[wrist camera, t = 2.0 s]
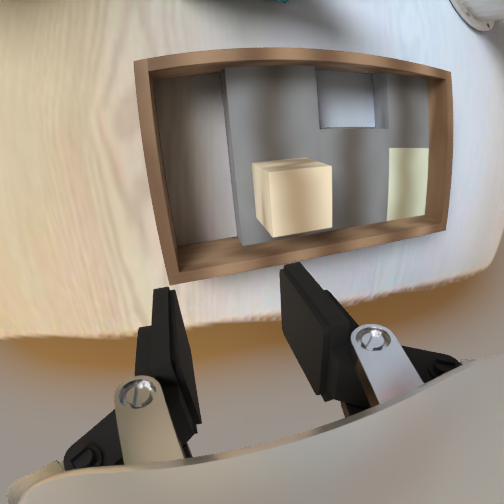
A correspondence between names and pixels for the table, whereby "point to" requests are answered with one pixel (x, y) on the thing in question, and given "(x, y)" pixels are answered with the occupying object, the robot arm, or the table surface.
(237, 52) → the box
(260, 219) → the block
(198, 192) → the table surface
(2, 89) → the table surface
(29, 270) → the table surface
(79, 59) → the table surface
